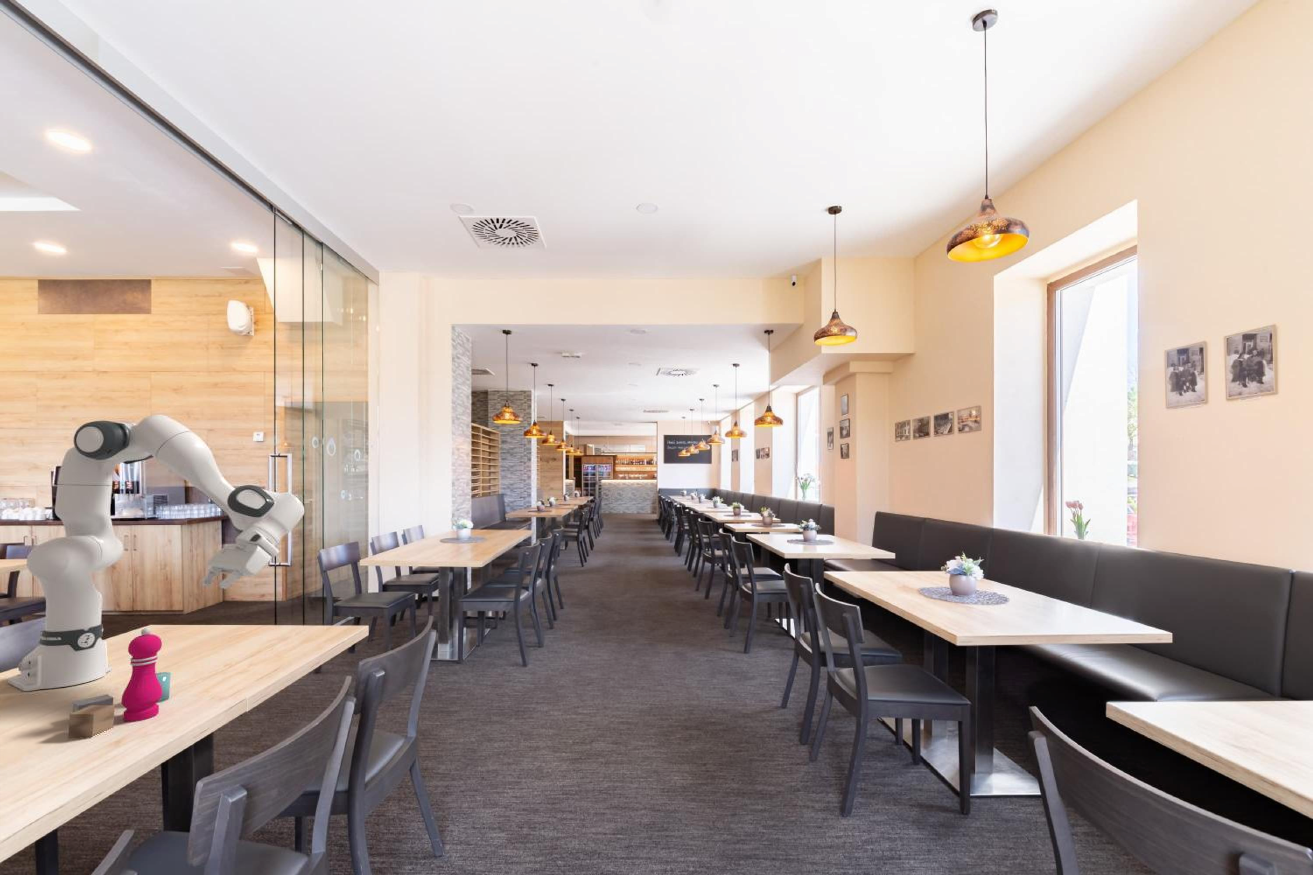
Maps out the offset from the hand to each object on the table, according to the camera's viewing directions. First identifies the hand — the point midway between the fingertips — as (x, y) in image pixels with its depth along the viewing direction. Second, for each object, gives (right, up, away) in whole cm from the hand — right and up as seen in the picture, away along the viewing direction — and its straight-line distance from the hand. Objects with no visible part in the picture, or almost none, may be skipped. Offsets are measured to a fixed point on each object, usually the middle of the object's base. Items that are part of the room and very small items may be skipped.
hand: (212, 585), depth 156 cm
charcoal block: (-15, -26, -18) cm, 35 cm away
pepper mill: (-4, -26, -17) cm, 31 cm away
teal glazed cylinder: (-9, -27, -7) cm, 29 cm away
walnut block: (-7, -25, -26) cm, 37 cm away
